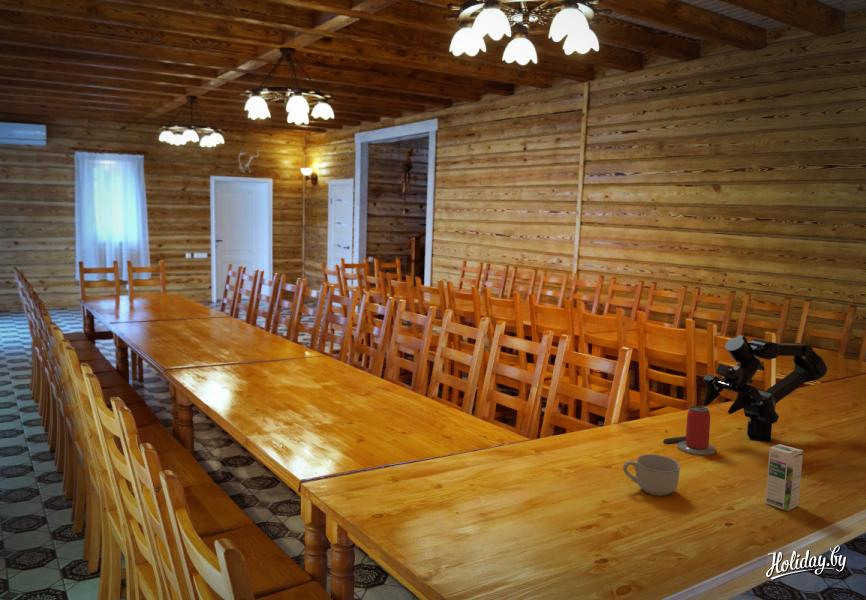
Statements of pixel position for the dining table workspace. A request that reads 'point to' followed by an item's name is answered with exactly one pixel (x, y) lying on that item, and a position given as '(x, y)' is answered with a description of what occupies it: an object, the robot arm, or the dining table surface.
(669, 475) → the teacup
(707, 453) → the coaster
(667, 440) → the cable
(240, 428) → the dining table surface
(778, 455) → the syrup box
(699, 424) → the beer can
